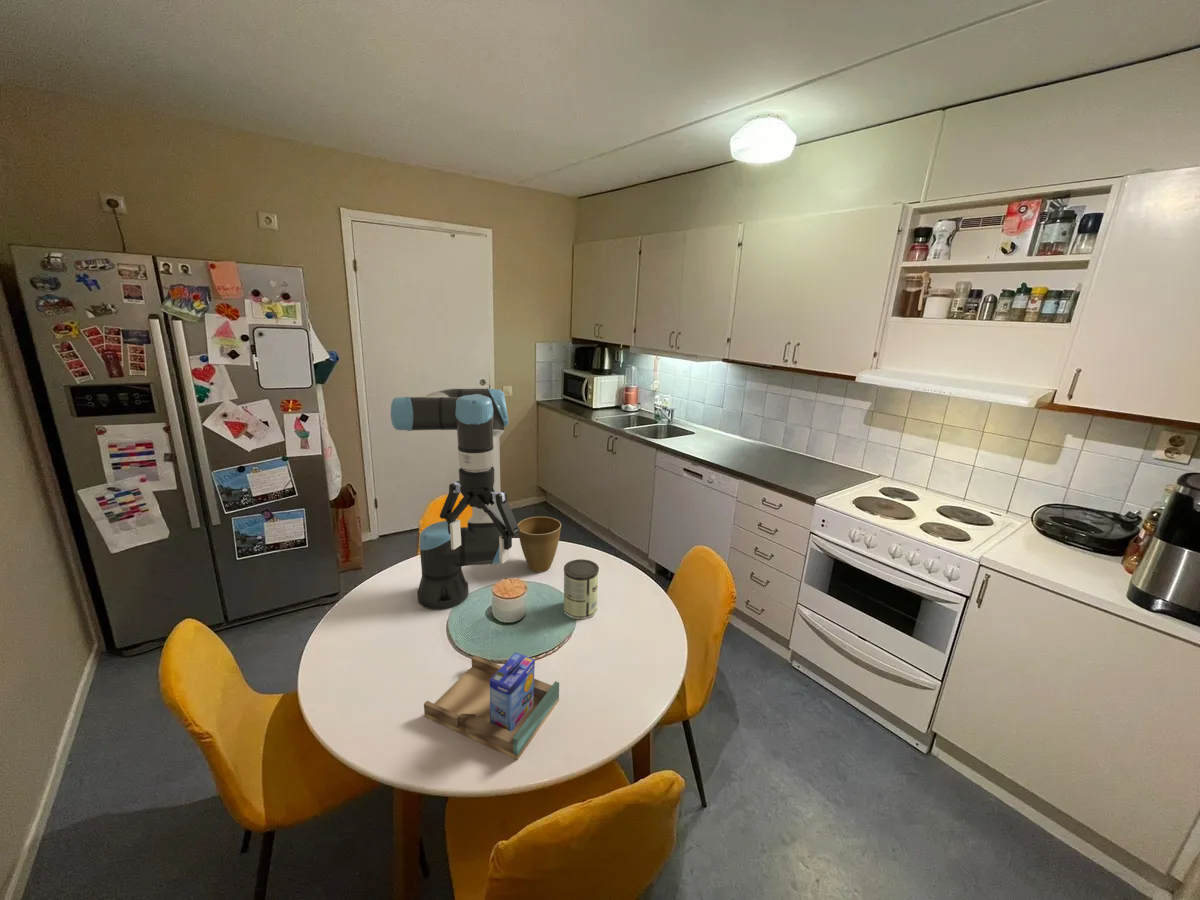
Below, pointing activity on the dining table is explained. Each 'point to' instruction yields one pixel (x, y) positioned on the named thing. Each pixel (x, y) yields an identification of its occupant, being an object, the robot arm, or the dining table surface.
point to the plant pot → (539, 541)
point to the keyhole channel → (471, 710)
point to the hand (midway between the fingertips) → (479, 553)
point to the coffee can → (580, 588)
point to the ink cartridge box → (512, 691)
